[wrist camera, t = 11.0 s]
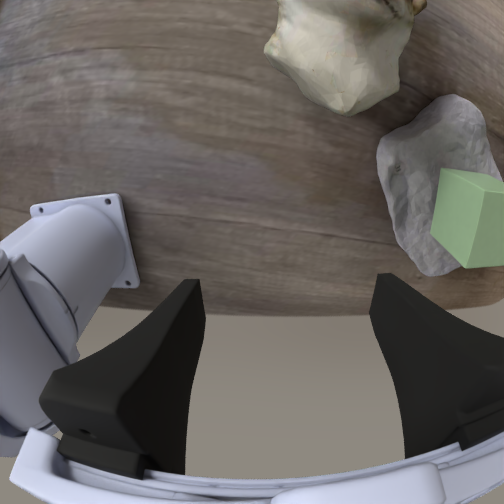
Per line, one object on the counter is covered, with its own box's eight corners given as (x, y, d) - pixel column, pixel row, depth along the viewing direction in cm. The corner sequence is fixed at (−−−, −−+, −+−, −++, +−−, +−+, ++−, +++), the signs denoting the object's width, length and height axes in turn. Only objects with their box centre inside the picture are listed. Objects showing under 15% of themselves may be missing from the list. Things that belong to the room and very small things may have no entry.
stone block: (408, 260, 24) (496, 212, 19) (420, 295, 20) (521, 240, 15) (344, 144, 20) (450, 86, 15) (351, 161, 16) (480, 91, 11)
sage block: (429, 233, 17) (464, 269, 13) (440, 167, 15) (484, 190, 11) (475, 233, 17) (511, 265, 13) (487, 174, 14) (530, 197, 11)
